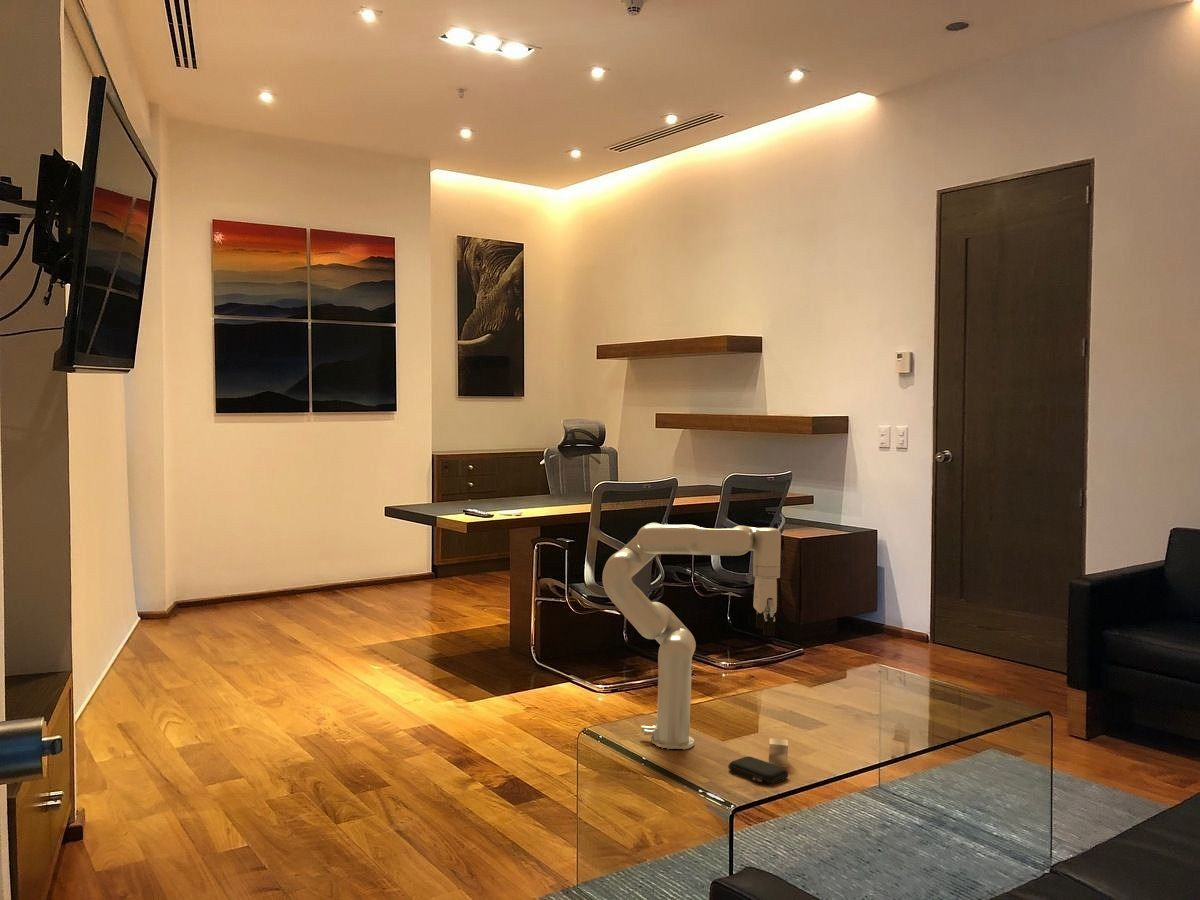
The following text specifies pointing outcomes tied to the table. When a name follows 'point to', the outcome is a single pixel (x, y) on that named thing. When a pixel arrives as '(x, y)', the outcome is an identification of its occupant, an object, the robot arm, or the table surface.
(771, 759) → the birch block
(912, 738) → the table surface
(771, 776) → the carrying case or bag
